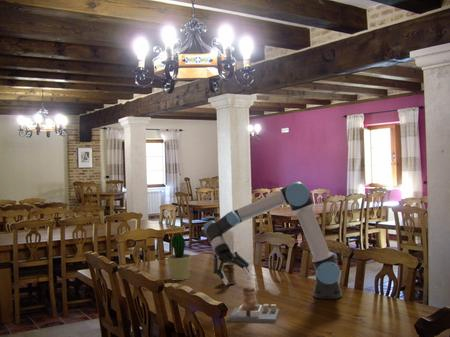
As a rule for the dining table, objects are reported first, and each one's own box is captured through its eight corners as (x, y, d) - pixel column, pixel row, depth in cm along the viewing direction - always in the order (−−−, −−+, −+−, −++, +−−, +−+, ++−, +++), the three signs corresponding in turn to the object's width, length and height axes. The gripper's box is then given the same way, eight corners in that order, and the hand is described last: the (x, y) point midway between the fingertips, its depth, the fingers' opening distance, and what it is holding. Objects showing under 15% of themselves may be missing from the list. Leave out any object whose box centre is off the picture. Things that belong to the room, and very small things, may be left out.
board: (279, 311, 236) (278, 302, 236) (275, 322, 221) (275, 312, 221) (235, 310, 241) (234, 301, 241) (228, 321, 225) (228, 311, 225)
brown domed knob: (257, 311, 234) (256, 286, 234) (255, 315, 227) (254, 290, 227) (244, 310, 235) (243, 286, 235) (241, 315, 229) (240, 289, 229)
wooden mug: (228, 287, 286) (227, 257, 286) (218, 283, 299) (217, 254, 298) (241, 285, 290) (240, 255, 290) (231, 281, 303) (230, 252, 302)
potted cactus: (193, 275, 322) (191, 230, 321) (189, 281, 306) (187, 234, 306) (170, 276, 323) (169, 231, 323) (165, 281, 308) (163, 234, 308)
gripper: (237, 248, 259) (255, 281, 247) (197, 255, 246) (214, 290, 233) (243, 239, 255) (261, 272, 243) (202, 245, 241) (219, 281, 229)
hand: (238, 281), depth 238 cm, fingers open, 13 cm apart
